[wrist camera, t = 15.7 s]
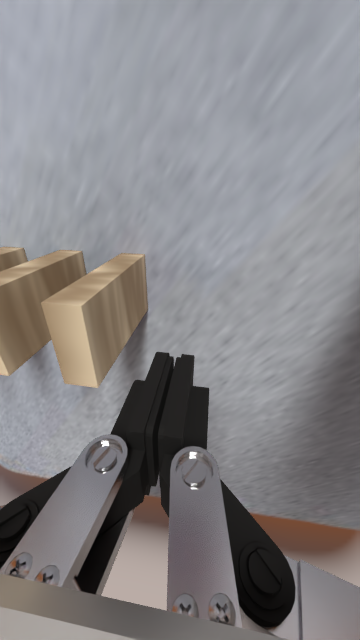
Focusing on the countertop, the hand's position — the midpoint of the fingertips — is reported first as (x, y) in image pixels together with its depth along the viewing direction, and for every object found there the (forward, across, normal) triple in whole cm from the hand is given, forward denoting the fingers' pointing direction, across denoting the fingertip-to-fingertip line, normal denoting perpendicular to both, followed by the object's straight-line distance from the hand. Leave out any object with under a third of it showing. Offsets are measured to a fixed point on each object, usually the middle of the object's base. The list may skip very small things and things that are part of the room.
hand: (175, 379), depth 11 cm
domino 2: (+11, +5, 0) cm, 12 cm away
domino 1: (+11, +11, 0) cm, 15 cm away
